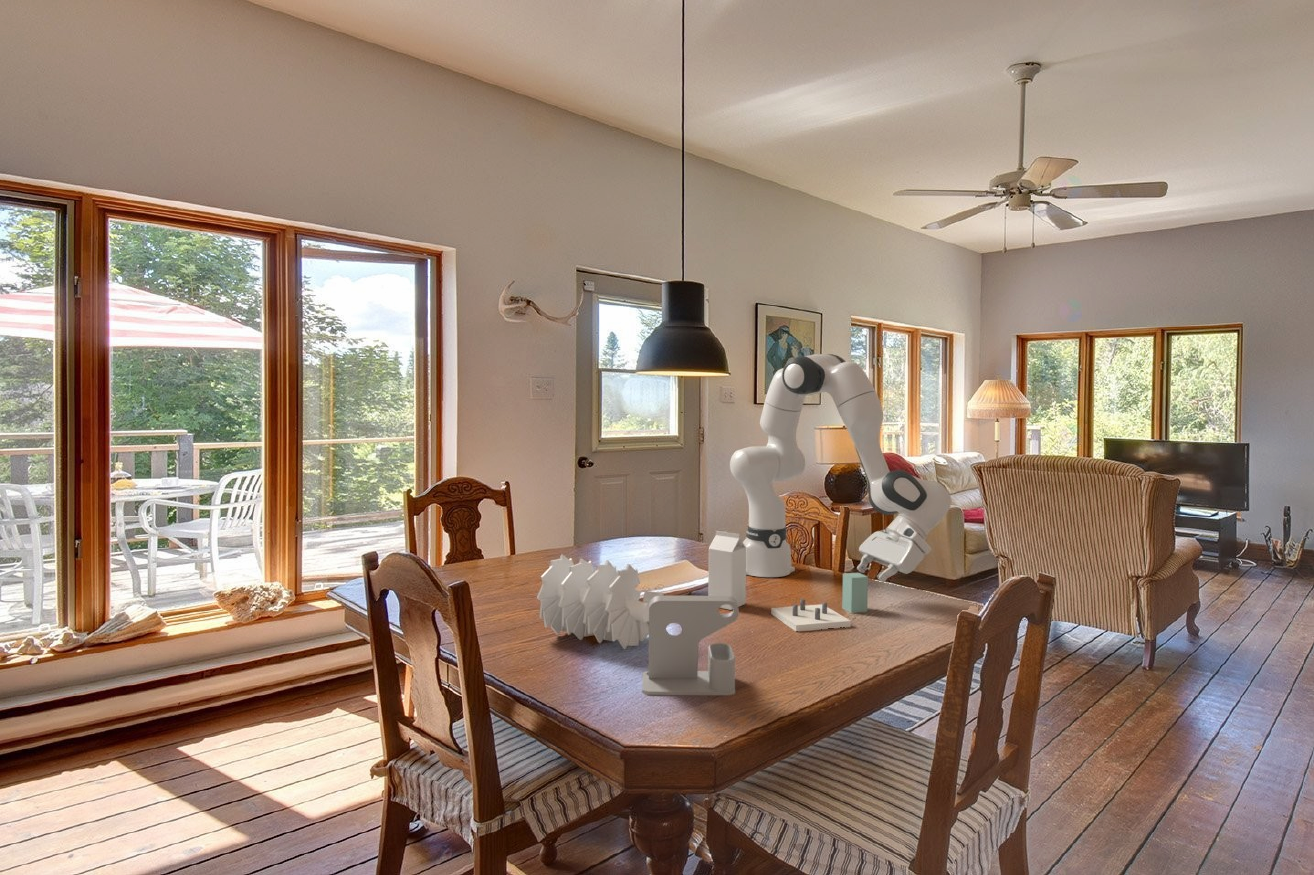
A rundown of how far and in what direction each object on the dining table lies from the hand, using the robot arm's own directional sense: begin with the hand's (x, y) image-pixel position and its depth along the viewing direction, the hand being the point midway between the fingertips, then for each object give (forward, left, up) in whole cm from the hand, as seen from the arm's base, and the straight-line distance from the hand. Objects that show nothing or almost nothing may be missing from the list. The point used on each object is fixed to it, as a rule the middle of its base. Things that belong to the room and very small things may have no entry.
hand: (869, 575), depth 185 cm
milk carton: (-12, -34, -9) cm, 37 cm away
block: (0, -4, -9) cm, 10 cm away
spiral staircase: (+6, -71, -9) cm, 72 cm away
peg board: (+5, -19, -9) cm, 21 cm away
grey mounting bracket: (+35, -59, -9) cm, 69 cm away
